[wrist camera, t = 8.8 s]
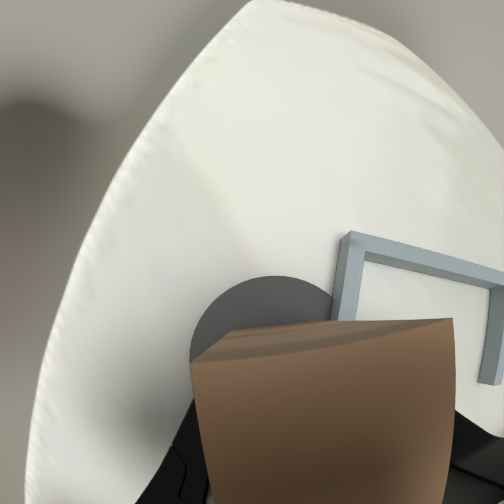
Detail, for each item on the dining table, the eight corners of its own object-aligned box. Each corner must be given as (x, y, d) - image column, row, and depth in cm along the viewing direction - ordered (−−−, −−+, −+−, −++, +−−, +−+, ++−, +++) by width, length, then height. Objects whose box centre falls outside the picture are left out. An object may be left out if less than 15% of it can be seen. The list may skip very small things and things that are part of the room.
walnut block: (320, 396, 15) (440, 509, 3) (240, 407, 15) (230, 562, 3) (313, 320, 16) (452, 318, 4) (231, 330, 16) (190, 362, 4)
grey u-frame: (485, 382, 16) (500, 384, 14) (316, 373, 17) (324, 380, 15) (498, 279, 18) (513, 275, 16) (340, 239, 18) (350, 230, 16)
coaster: (275, 461, 15) (276, 464, 15) (157, 358, 17) (155, 359, 16) (384, 350, 17) (386, 350, 17) (271, 243, 18) (272, 241, 18)
